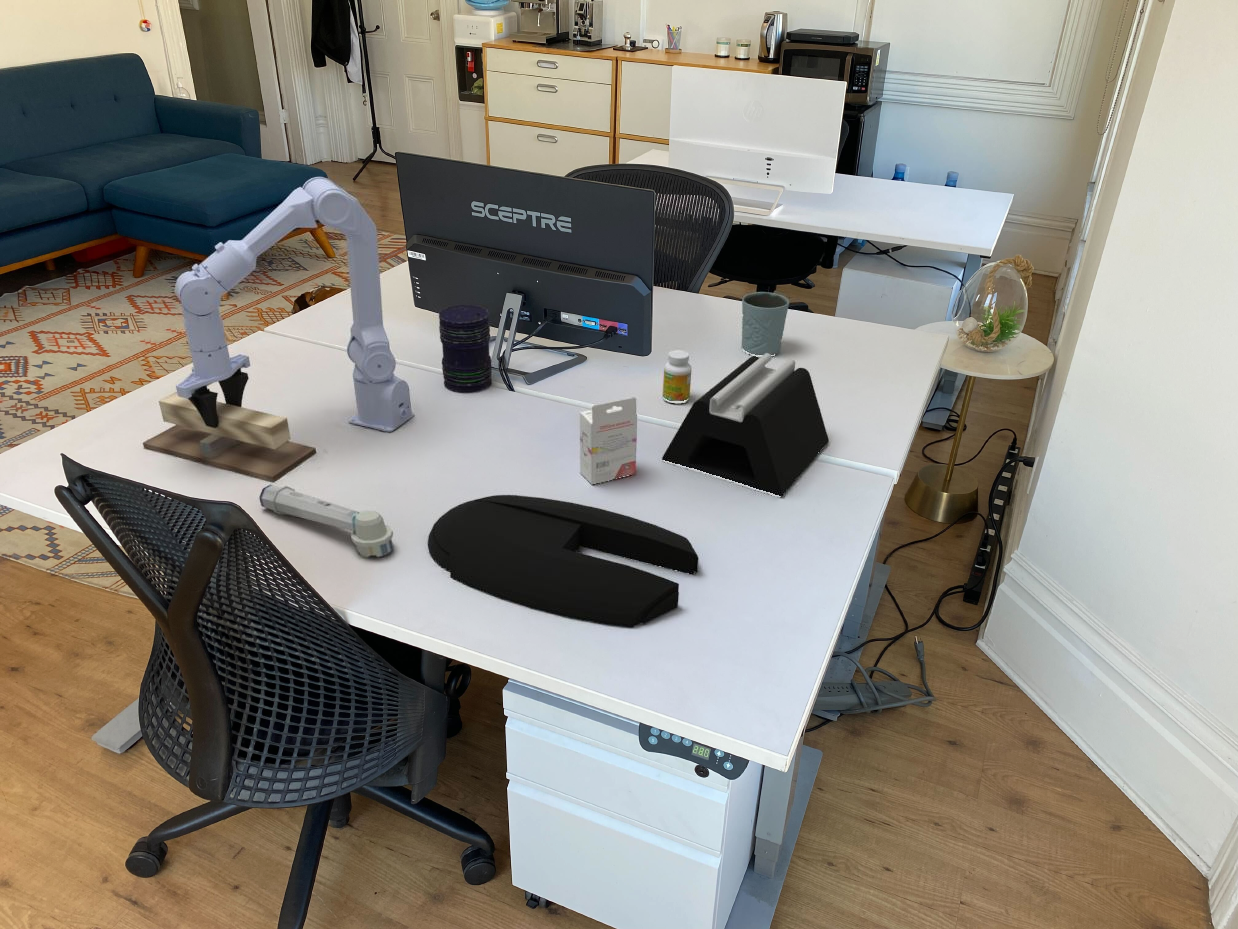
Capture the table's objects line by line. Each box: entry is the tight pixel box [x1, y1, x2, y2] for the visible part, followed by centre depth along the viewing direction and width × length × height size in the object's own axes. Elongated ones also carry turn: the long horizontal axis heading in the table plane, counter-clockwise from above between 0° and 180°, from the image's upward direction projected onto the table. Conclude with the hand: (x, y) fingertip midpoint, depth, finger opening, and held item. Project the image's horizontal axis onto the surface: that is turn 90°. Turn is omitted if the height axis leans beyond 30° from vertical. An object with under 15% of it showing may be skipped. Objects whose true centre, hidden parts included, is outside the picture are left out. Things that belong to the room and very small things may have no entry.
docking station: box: [427, 494, 699, 628], centre depth 134 cm, size 25×41×5 cm, turn 68°
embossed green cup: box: [741, 291, 790, 356], centre depth 203 cm, size 10×10×12 cm
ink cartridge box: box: [579, 396, 638, 485], centre depth 153 cm, size 9×5×15 cm, turn 117°
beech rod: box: [158, 391, 291, 449], centre depth 157 cm, size 24×4×4 cm, turn 68°
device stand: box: [661, 353, 830, 497], centre depth 161 cm, size 22×22×15 cm
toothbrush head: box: [258, 483, 394, 558], centre depth 139 cm, size 5×7×25 cm
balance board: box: [142, 424, 317, 483], centre depth 160 cm, size 28×11×1 cm, turn 68°
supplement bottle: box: [662, 349, 692, 401], centre depth 181 cm, size 5×5×10 cm
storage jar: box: [438, 304, 493, 394], centre depth 183 cm, size 10×10×15 cm
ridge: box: [200, 434, 242, 459], centre depth 159 cm, size 2×10×3 cm, turn 158°
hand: (223, 419), depth 157 cm, fingers open, 5 cm apart
